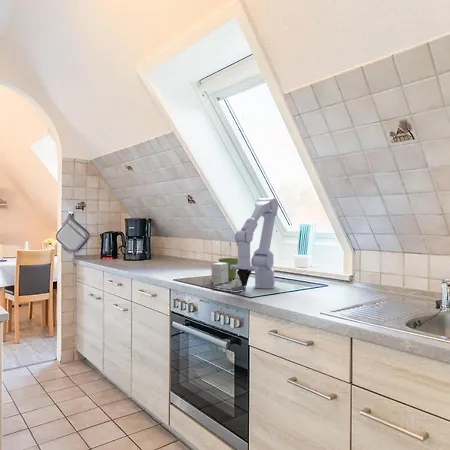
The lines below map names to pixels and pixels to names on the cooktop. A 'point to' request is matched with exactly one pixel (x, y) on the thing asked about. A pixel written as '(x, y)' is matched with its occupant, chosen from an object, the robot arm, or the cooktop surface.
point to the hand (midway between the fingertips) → (244, 285)
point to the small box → (219, 272)
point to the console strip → (228, 287)
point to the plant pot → (230, 262)
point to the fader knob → (235, 283)
